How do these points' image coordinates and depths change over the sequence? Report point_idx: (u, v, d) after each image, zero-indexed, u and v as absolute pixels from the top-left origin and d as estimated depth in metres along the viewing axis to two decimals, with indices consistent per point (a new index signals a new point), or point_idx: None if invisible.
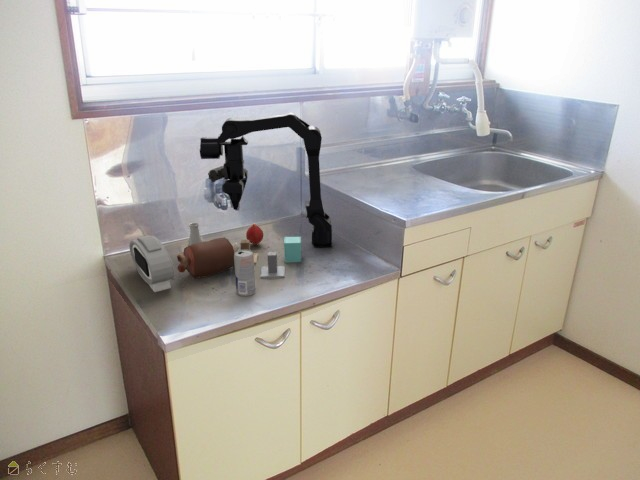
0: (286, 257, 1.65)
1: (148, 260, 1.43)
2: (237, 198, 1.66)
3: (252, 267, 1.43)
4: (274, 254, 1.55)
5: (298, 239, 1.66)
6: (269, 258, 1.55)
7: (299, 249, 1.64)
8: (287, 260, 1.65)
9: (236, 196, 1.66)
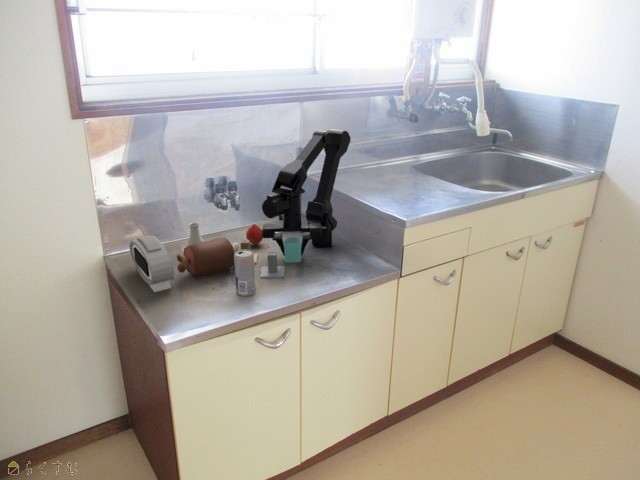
0: (286, 257, 1.65)
1: (148, 260, 1.43)
2: None
3: (252, 267, 1.43)
4: (274, 254, 1.55)
5: (298, 239, 1.66)
6: (269, 258, 1.55)
7: (299, 249, 1.64)
8: (287, 260, 1.65)
9: None
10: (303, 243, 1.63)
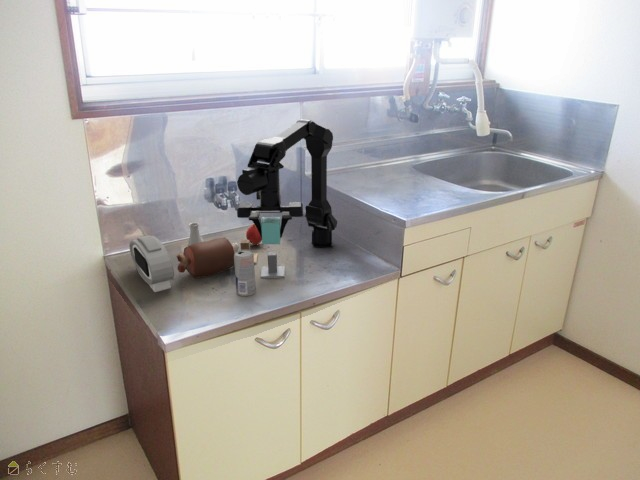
0: (264, 239, 1.51)
1: (148, 260, 1.43)
2: None
3: (252, 267, 1.43)
4: (274, 254, 1.55)
5: (277, 219, 1.52)
6: (269, 258, 1.55)
7: (278, 230, 1.51)
8: (264, 241, 1.52)
9: None
10: (282, 223, 1.50)
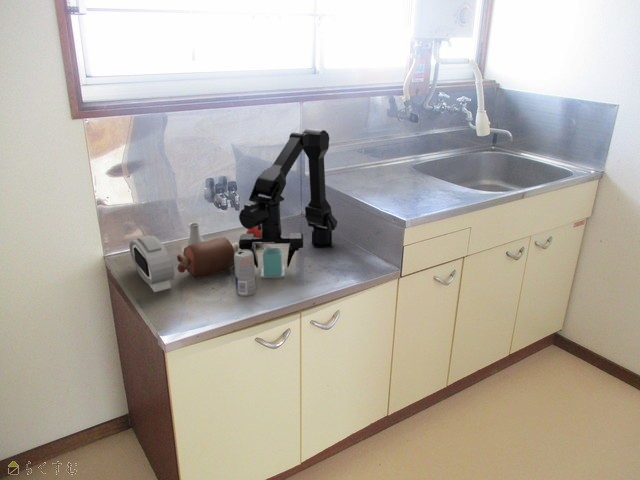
0: (265, 269, 1.55)
1: (148, 260, 1.43)
2: None
3: (252, 267, 1.43)
4: None
5: (278, 250, 1.56)
6: None
7: (279, 261, 1.54)
8: (266, 272, 1.55)
9: None
10: (289, 254, 1.54)
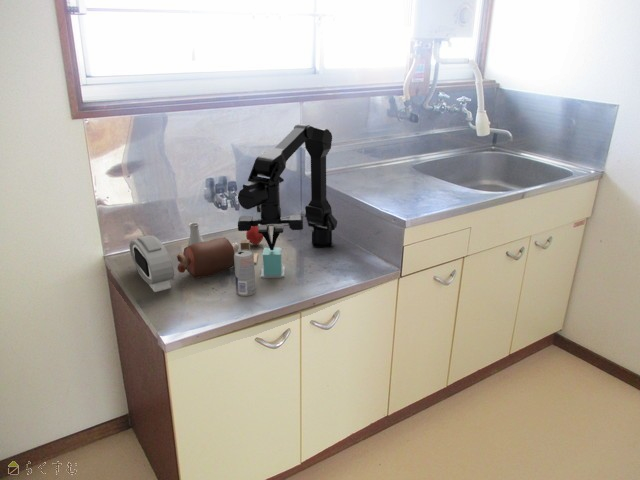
0: (265, 269, 1.55)
1: (148, 260, 1.43)
2: None
3: (252, 267, 1.43)
4: None
5: (278, 250, 1.56)
6: None
7: (279, 261, 1.54)
8: (266, 272, 1.55)
9: None
10: (273, 236, 1.51)
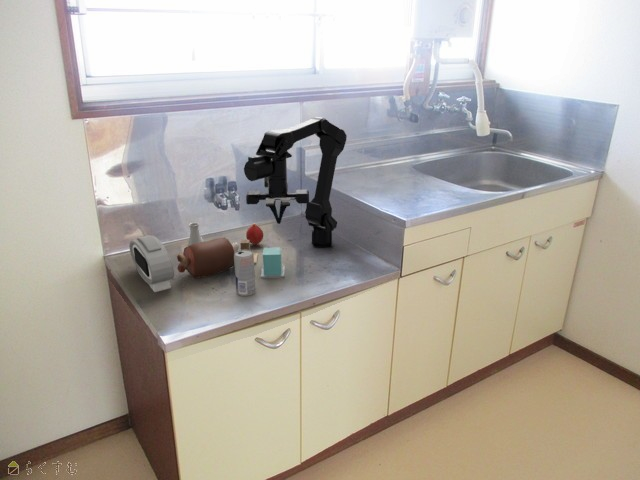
0: (265, 269, 1.55)
1: (148, 260, 1.43)
2: None
3: (252, 267, 1.43)
4: None
5: (278, 250, 1.56)
6: None
7: (279, 261, 1.54)
8: (266, 272, 1.55)
9: None
10: (281, 210, 1.57)
